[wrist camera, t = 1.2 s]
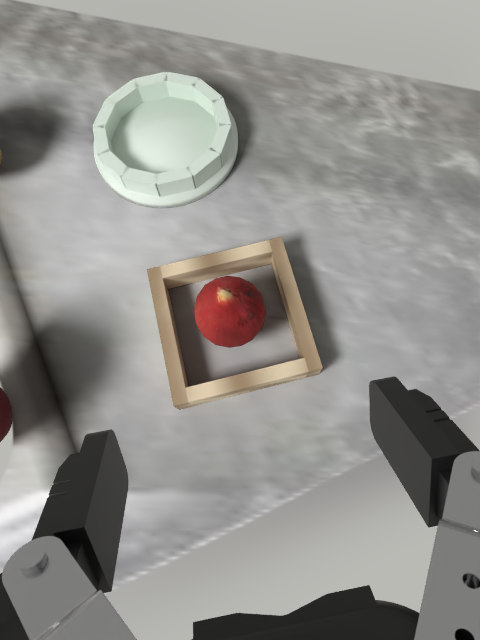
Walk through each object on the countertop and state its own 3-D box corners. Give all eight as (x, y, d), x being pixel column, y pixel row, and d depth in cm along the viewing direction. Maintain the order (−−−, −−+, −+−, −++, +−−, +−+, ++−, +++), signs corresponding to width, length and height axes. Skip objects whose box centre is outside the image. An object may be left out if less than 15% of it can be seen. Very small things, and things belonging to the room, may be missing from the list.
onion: (257, 290, 40) (257, 249, 33) (270, 349, 38) (273, 320, 31) (195, 302, 40) (181, 264, 33) (206, 362, 38) (193, 337, 31)
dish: (220, 78, 48) (218, 54, 46) (253, 188, 44) (253, 169, 41) (88, 107, 48) (77, 85, 45) (107, 223, 43) (97, 206, 40)
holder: (280, 249, 41) (281, 236, 39) (318, 374, 38) (322, 368, 35) (153, 280, 41) (146, 269, 39) (179, 409, 37) (173, 405, 35)
